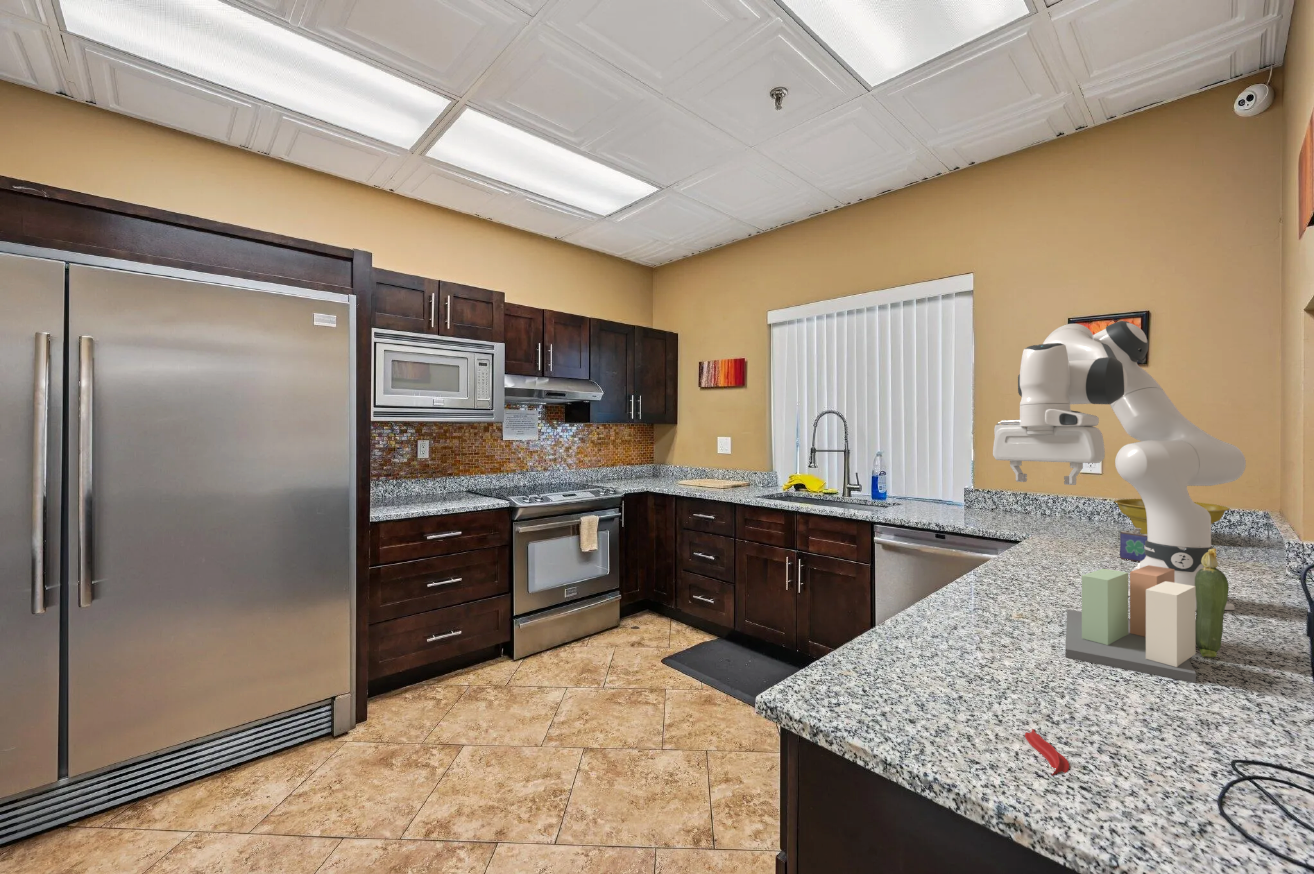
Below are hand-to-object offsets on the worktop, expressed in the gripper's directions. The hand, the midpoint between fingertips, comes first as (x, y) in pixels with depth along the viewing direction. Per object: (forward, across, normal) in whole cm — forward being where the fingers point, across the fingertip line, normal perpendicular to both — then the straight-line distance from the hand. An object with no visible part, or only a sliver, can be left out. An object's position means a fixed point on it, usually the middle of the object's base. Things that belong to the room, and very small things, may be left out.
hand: (1044, 483), depth 116 cm
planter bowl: (+29, -27, +146) cm, 151 cm away
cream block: (+29, +22, -4) cm, 36 cm away
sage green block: (+29, +12, -2) cm, 31 cm away
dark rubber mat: (+30, +13, 0) cm, 33 cm away
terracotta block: (+29, +15, +9) cm, 33 cm away
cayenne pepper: (+31, +25, -51) cm, 65 cm away
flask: (+30, -16, +88) cm, 94 cm away
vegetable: (+30, +24, +7) cm, 39 cm away
